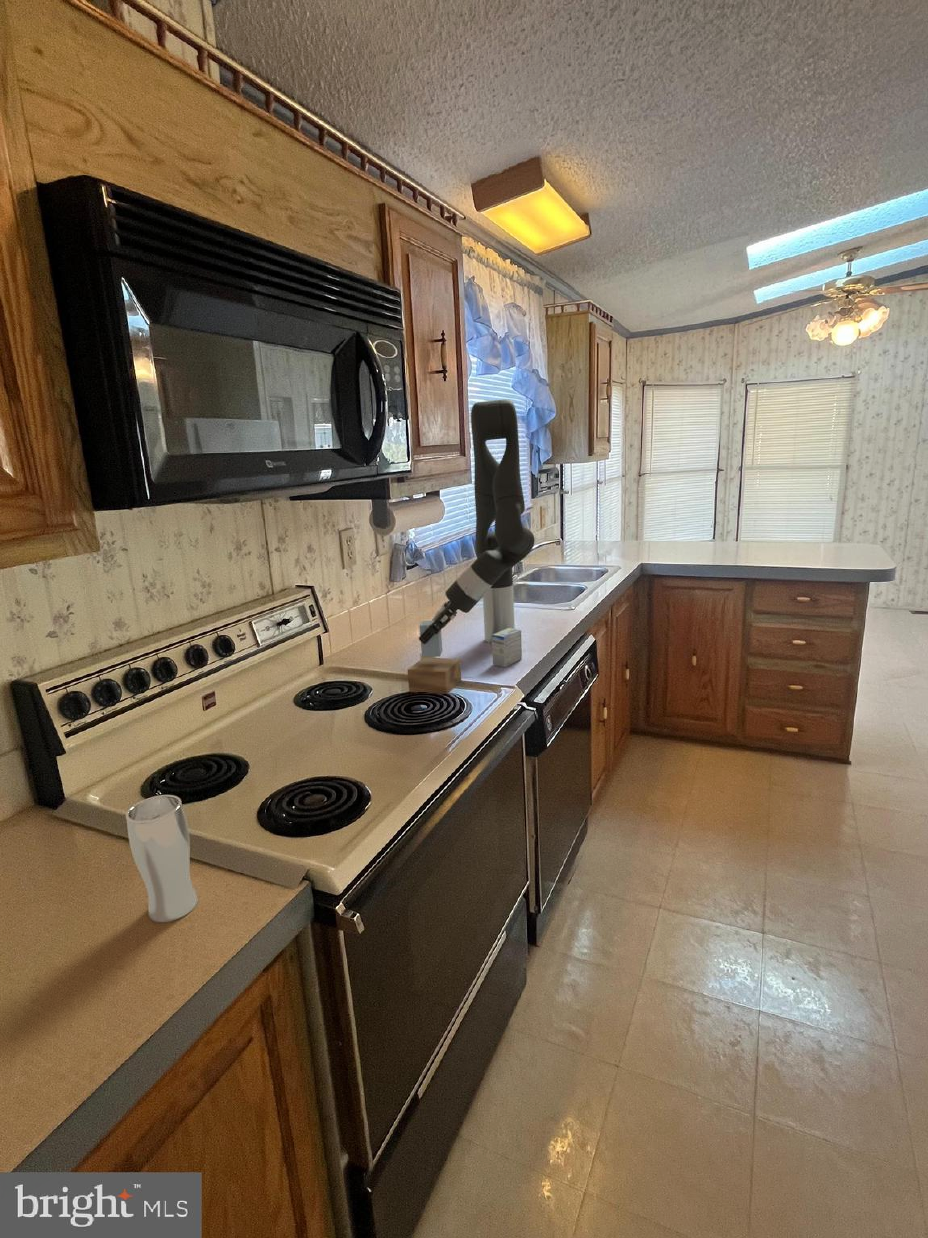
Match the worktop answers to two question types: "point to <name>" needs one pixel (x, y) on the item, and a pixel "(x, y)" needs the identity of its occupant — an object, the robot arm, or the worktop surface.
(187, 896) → the beer glass
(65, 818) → the worktop surface
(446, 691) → the walnut block
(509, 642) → the medicine box
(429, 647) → the slate-blue block
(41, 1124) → the worktop surface
